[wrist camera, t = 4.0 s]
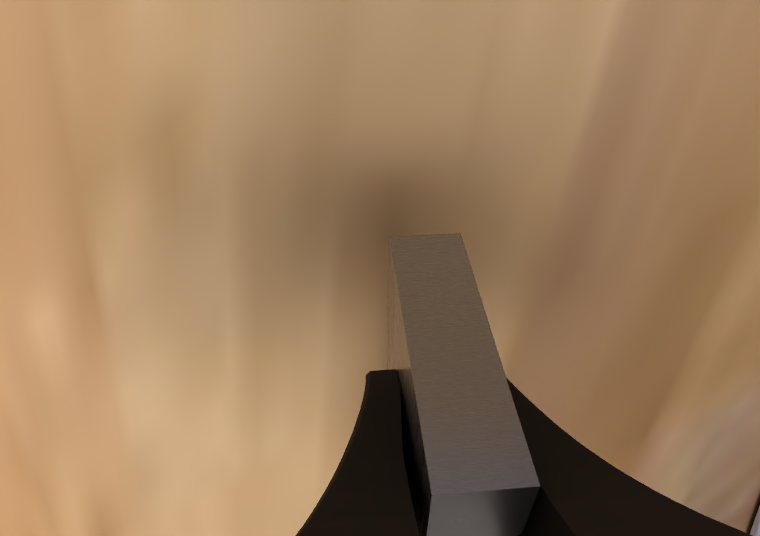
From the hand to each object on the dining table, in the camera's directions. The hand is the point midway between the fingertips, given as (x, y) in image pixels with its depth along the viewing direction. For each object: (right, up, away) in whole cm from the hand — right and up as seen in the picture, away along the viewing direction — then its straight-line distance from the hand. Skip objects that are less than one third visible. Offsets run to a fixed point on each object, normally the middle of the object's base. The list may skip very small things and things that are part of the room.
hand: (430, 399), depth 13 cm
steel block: (0, -6, +8) cm, 10 cm away
